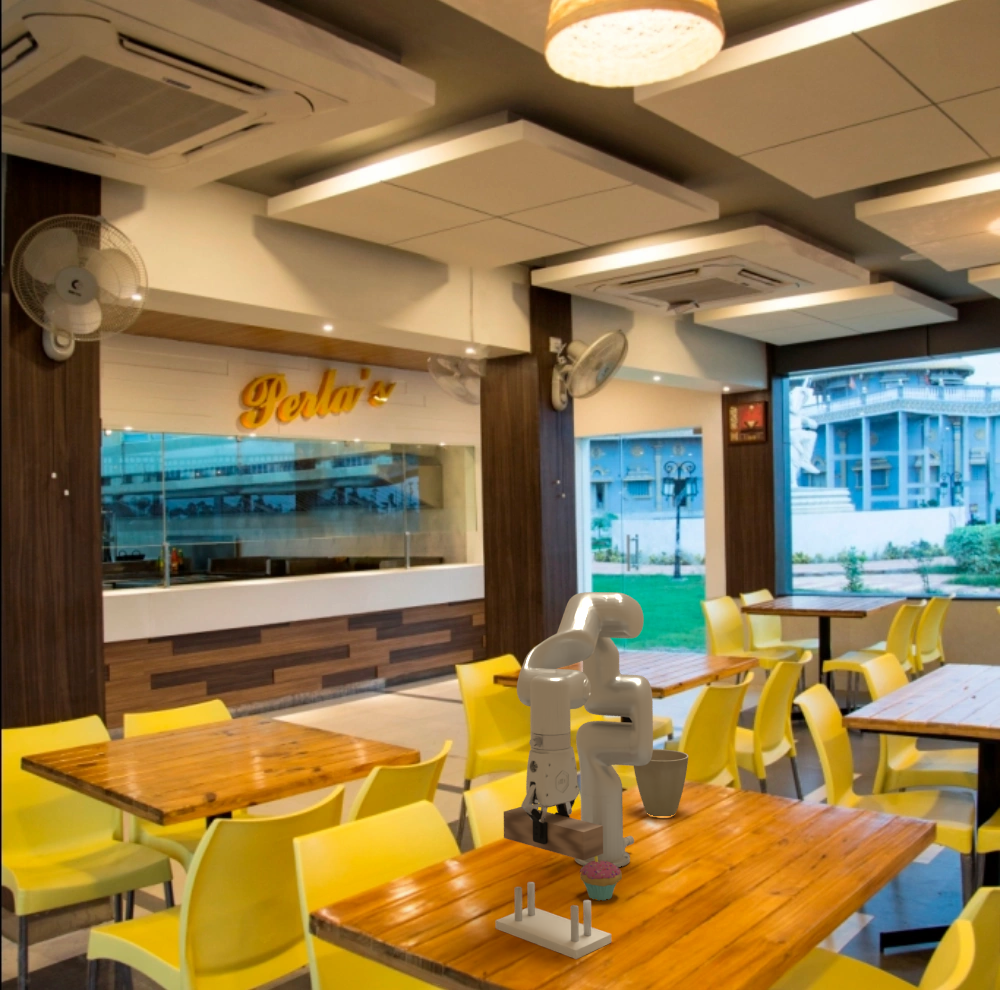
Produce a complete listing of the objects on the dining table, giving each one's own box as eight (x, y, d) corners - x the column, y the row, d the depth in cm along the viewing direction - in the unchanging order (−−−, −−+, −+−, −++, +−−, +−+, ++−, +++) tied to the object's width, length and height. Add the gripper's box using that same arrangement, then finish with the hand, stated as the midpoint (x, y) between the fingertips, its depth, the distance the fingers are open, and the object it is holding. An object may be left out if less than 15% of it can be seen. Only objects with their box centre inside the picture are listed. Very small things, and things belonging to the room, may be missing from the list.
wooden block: (603, 853, 181) (602, 825, 182) (583, 860, 178) (583, 832, 178) (523, 831, 195) (523, 806, 196) (503, 837, 192) (503, 811, 192)
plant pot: (700, 814, 266) (699, 754, 266) (668, 826, 255) (667, 763, 256) (653, 804, 276) (652, 746, 277) (621, 815, 265) (620, 755, 266)
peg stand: (495, 928, 189) (495, 888, 190) (531, 913, 197) (530, 875, 197) (576, 959, 176) (575, 915, 176) (611, 942, 183) (610, 900, 183)
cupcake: (571, 896, 206) (571, 837, 207) (598, 886, 212) (597, 829, 212) (603, 907, 200) (603, 846, 200) (630, 896, 206) (629, 837, 206)
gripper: (534, 751, 179) (535, 853, 178) (594, 737, 191) (595, 833, 190) (504, 745, 184) (505, 845, 183) (565, 732, 196) (566, 825, 195)
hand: (551, 837), depth 187 cm, fingers closed on wooden block, 5 cm apart
